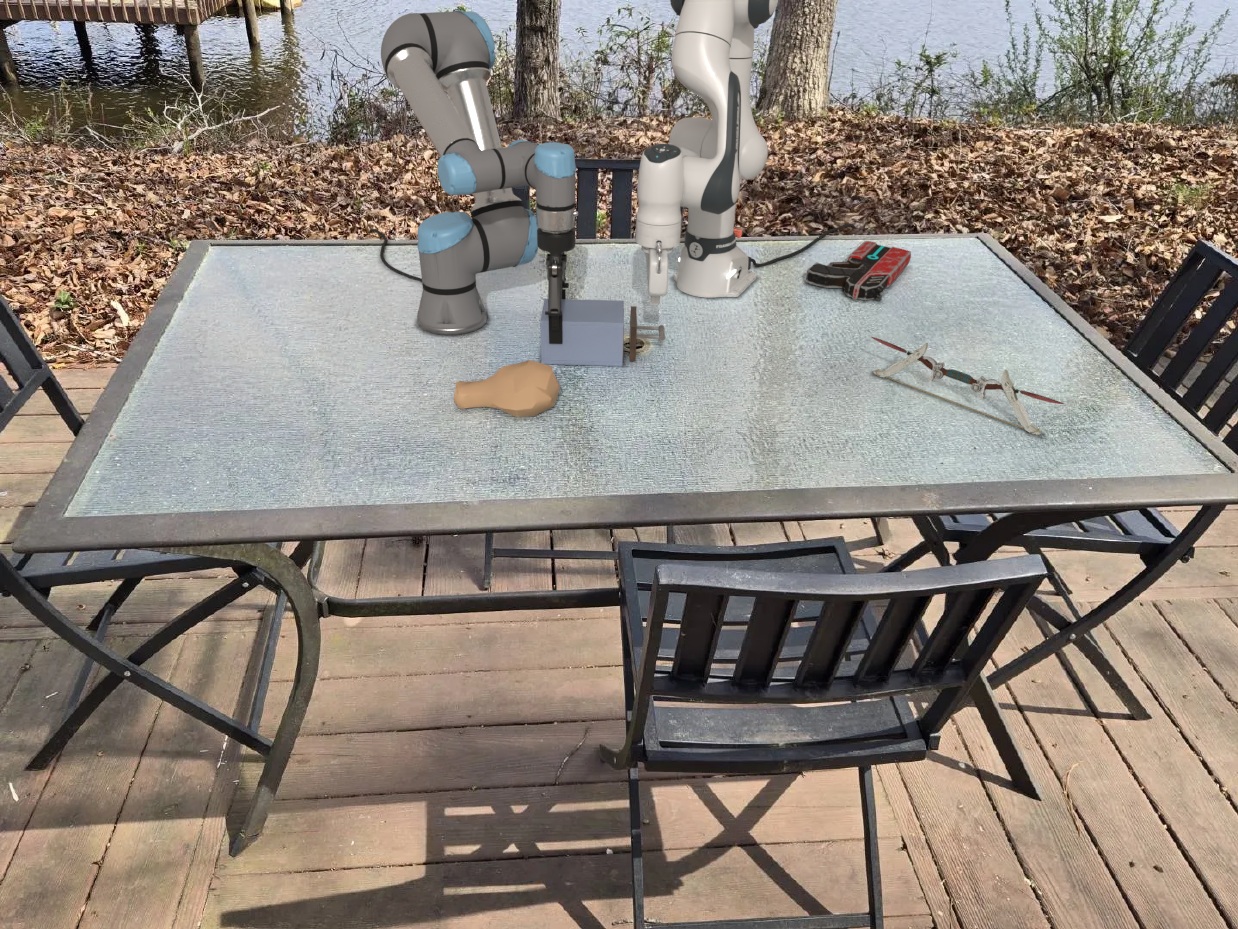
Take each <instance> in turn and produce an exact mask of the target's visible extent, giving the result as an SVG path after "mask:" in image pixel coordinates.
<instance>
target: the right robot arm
mask: <svg viewBox="0 0 1238 929" xmlns="http://www.w3.org/2000/svg"><path fill="white" fill-rule="evenodd" d="M669 2H670V6H671V9H672V10H673V11H674V13H675V14H676V15H677V16H679V17H678V21H677V25H676V28H675V29H676V30H675V34H674V38H673V43H672V50H671V69H672V71H673V73H674V76H675V77H676V79H677V80H678V82H679V83H680V84H681V85H682V86H683V87H684V88H686V89H687V90H688V91H690V92H691V93H693V94H694V95H696V96H698V97H700V98H701V99H702V100H703V101H704V102H705V104H706V106H707V107H708V109H709V113H710V114H711V115H710V116H711V119H710V118H707V117H703V116H695V117H693V116H690V117H683V118H681V119H679V120H678V121H676V123H675V124H674V125H673V127H672V129H671V130H670V133H669V139H668V143H656V144H652V145H649V146H648V147H647V148H645V149H644V150H643V152H642V153H641V157H640V162H639V169H638V175H637V186H636V188H637V189H636V198H637V201H638V202H637V203H638V207H637V208H638V209H637V212H636V215H635V239H634V240H635V243H636V244H637V245H639V246H640V247H641V251H642V252H643V253H645V261H646V262H645V264H646V281H647V293H648V295H649V296H650V304H651V305H653V306H658V305H660V303H661V297H665V296H666V295H667V294H668V285H669V284H668V283H669V255H670V254H671V253H673V252H674V248H676V247H677V246H679V245H680V244H681V236H682V235H681V234H682V222H683V221H682V219H683V217H682V212H681V208H687V227H686V229H685V230H684V231H685V232H684V237H683V238H684V242H683V243H684V246H683V247H682V248H681V249H680V253H679V257H678V266H677V272H676V273H673V277H672V278H673V280H674V281H675V282H676V287H677V289H678V290H679V291H681V292H682V293H684V294H687V295H688V296H693V297H696V298H697V297H699V298H707V299H708V298H709V299H711V298H712V299H713V298H723V297H724V298H738V297H740V295H742V293H744V292H745V290H746V289H748V288H749V287H750V286H751V285H752V284H753V283H754V282H755V281H756V279H757V273H756V272H754V271H752V270H751V265H753V267H755V268H760V267H765V266H769V265H772V264H774V263H777V262H779V261H783V260H785V259H789V258H791V257H794V256H796V255H799V254H801V253H803V252H804V251H806V250H807V249H809V248H810V247H812V246H813V245H815V244H816V243H817V242H819V241H820V240H821V239H823V238H824V237H827V235H829V234H831V233H834V232H837V231H839V230H843V229H845V228H852V229H853V230H855V229H857V227H856V226H855V225H854V224H853V223H845V224H842V225H839V226H837V227H833V228H831V229H828V230H827V231H825V232H824V233H822V234H821V235H819V236H817V237H816V238H815V239H813V240H812V241H810V242H809V243H808V244H806V245H804V246H803V247H802V248H800V249H797V250H796V251H793V252H790V253H788V254H785V255H782V256H777V257H776V258H772V259H771V260H768V261H765V262H763V263H757V260H755V258H752V256H748V254H747V253H746V252H745V251H743V250H742V249H741V248H740V247H739V246H738V245H737V239H741V238H742V236H743V230H742V229H738V228H735V219H736V209H737V202H738V199H739V196H740V192H741V180H753V179H755V178H756V177H758V176H759V174H761V173H762V171H763V170H764V168H765V166H766V164H767V161H768V157H769V148H768V143H767V141H766V139H765V138H764V137H763V135H762V134H761V132H760V131H759V129H758V126H757V124H756V121H755V119H754V115H753V111H752V107H751V99H750V98H751V97H750V95H751V94H750V91H751V90H750V89H751V78H752V77H751V76H752V69H753V68H752V67H753V58H754V50H755V30H756V29H758V28H759V26H760V25H763V24H765V23H766V22H768V21H769V19H771V18H772V16H773V15H774V13H775V10H776V8H777V6H778V3H779V0H669ZM818 237H819V238H818Z"/></svg>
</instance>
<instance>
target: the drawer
mask: <svg viewBox="0 0 1238 929" xmlns="http://www.w3.org/2000/svg"><path fill="white" fill-rule="evenodd" d="M637 311H638V310H637V306H636V305H634V306H633V305H630V318H629V339H628V340H629V361H630V362H636V360H637V358H636V357H637V339H645V340H647V339H651V340H659V341H662V342H663V341H665V340H666V332H665V331H666V330H665V326H664V325H663V324H660V325H659V326H653V325H651V326H650V325H643V326H642V325H638V314H637ZM638 331H658V334H638ZM624 344H625V332H624V333H623V348H624Z"/></svg>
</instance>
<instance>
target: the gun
mask: <svg viewBox="0 0 1238 929" xmlns="http://www.w3.org/2000/svg"><path fill="white" fill-rule="evenodd" d="M911 259H912V251H911V250H908V249H905V248H904V249H903V248H899V247H895V246H892V247H890V246H885V245H881V244H878V243H877V242H875V241H870V240H864V241H863V242H862V243H861V244H860V245H858V246H857V247H856V248H855V249H854V250H853V251H852V252H851V253H850V254H849V256H848V258H847V260H846V261H830V262H829V263H828V264H823V263H820V262H817V261H816V262H815V263H814V264H813V265H810V267H809V268H807V269H806V276H805V282H806V283H808V284H810V285H814V286H816V287H820V288H826V289H844V290H843V293H844V294H845V295H846V296H847V297H850V298H851V299H852V300H862V301H869V300H876V301H878V302H881V300H882V297H883V296H882V293H883V292H884V291H885V290H886V289H888V288H889V287H890V286H892V284H893V283H895V281H896V280H898V278H899V277H900V275H901V274H903V272H904V271H905V269H906V268H907V266H908V265H909V263H910V261H911Z"/></svg>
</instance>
